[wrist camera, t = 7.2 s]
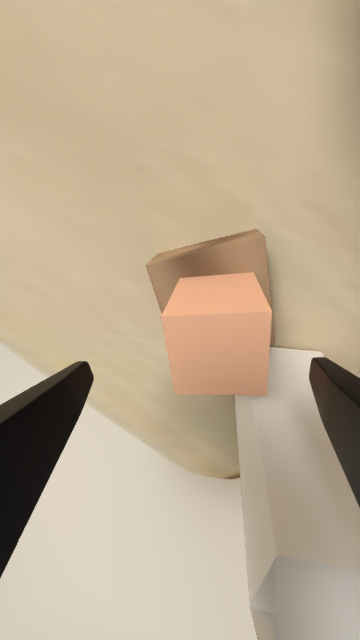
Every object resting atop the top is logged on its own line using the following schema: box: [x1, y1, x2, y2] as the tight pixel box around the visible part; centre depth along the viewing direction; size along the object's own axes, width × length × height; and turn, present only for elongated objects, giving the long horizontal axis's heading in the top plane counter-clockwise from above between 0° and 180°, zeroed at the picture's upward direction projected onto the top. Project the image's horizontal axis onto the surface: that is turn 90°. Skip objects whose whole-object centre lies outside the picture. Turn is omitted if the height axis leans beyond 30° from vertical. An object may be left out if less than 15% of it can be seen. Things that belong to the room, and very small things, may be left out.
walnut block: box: [146, 229, 275, 344], centre depth 18 cm, size 8×8×4 cm
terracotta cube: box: [161, 272, 272, 396], centre depth 14 cm, size 5×5×6 cm
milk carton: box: [235, 347, 360, 640], centre depth 15 cm, size 7×7×19 cm
